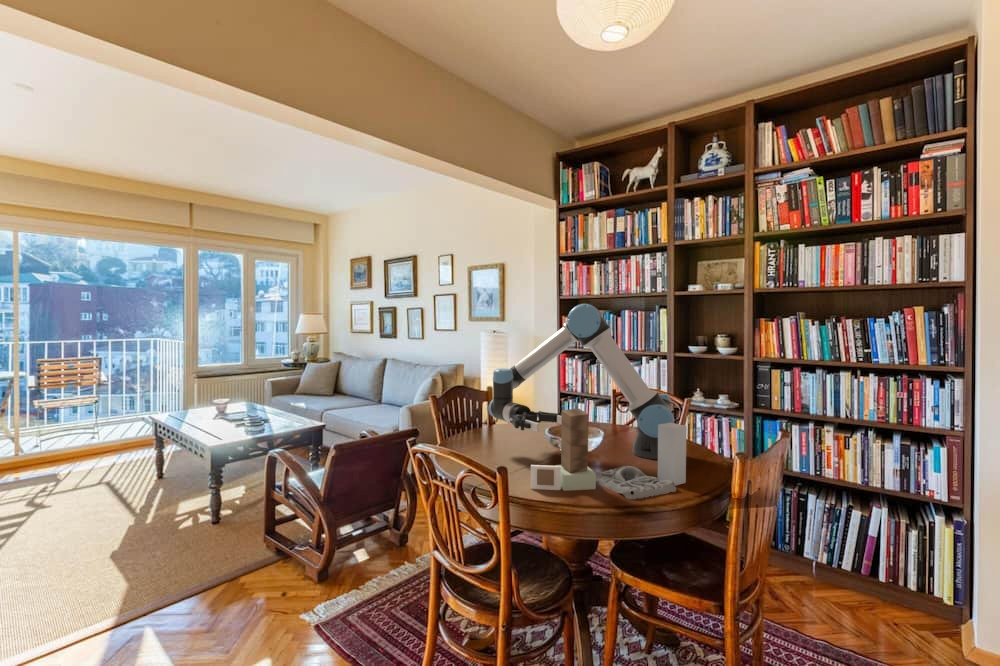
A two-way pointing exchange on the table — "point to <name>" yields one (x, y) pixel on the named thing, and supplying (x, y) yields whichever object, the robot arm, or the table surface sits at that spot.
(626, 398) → the robot arm
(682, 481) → the grey plastic block
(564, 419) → the walnut block
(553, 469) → the card
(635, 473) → the wall plaque
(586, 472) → the sage base block
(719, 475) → the table surface
